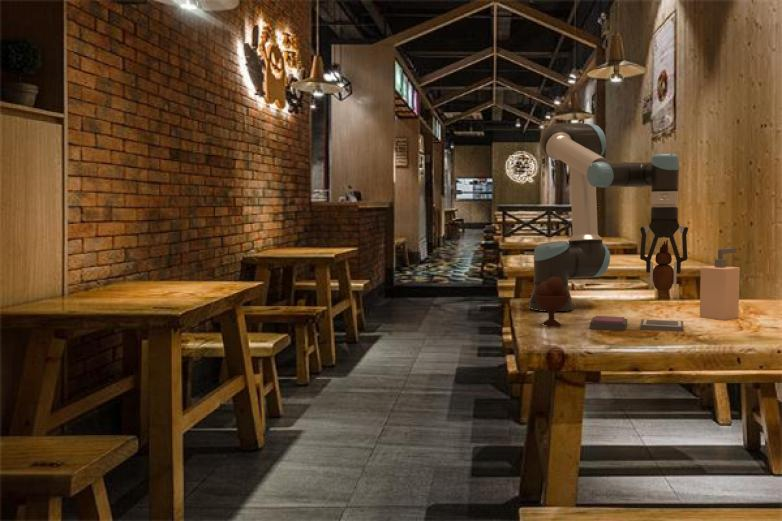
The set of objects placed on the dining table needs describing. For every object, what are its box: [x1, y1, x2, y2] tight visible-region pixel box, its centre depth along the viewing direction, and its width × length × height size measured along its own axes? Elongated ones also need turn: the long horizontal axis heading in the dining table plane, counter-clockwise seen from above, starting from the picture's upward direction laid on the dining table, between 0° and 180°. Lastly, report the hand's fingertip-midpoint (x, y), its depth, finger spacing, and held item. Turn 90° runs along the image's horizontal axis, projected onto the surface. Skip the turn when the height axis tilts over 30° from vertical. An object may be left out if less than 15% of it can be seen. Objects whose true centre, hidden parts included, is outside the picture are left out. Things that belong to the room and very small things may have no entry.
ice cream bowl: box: [533, 277, 571, 327], centre depth 234 cm, size 11×11×15 cm
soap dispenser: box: [699, 247, 741, 321], centre depth 246 cm, size 13×9×22 cm
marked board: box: [639, 318, 685, 332], centre depth 229 cm, size 12×12×1 cm
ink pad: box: [589, 315, 628, 332], centre depth 230 cm, size 10×10×3 cm
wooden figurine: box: [653, 239, 674, 291], centre depth 228 cm, size 7×6×15 cm
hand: (663, 283), depth 228 cm, fingers closed on wooden figurine, 6 cm apart
